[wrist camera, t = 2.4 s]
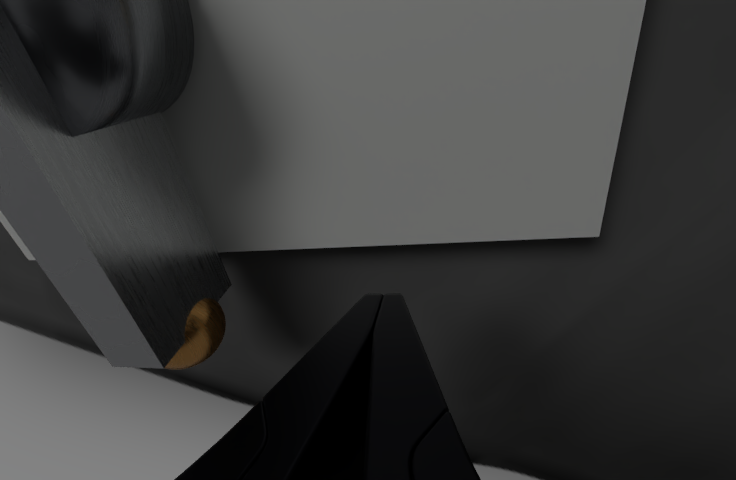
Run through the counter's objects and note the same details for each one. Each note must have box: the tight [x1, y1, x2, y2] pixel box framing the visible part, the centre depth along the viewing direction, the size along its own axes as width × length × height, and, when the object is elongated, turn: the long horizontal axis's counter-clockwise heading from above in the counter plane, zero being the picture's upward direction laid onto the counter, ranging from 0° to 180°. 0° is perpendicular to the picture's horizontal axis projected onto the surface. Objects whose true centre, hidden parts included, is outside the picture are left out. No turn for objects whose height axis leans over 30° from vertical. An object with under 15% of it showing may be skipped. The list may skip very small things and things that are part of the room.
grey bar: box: [0, 0, 232, 370], centre depth 7 cm, size 5×18×4 cm, turn 8°
